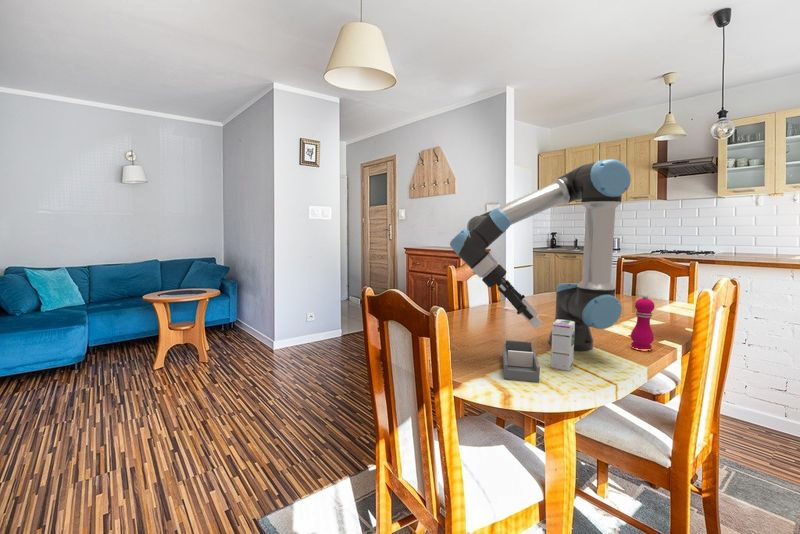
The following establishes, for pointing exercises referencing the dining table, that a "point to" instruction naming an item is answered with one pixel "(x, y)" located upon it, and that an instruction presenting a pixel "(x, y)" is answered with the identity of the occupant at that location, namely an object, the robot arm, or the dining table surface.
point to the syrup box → (562, 344)
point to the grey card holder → (518, 371)
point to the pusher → (520, 358)
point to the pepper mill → (643, 324)
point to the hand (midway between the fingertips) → (537, 320)
